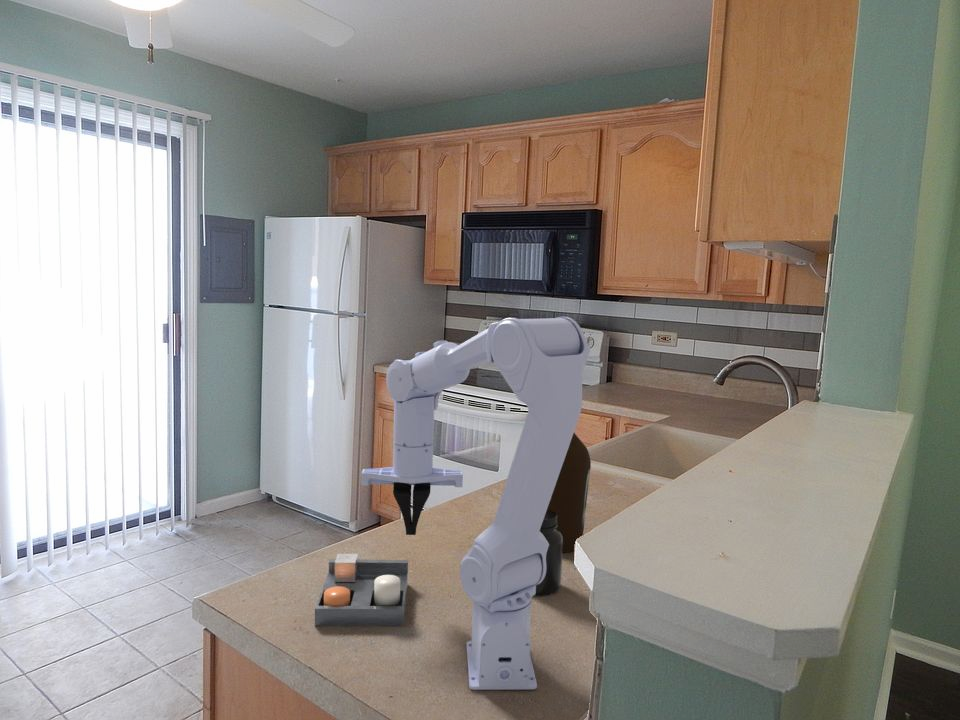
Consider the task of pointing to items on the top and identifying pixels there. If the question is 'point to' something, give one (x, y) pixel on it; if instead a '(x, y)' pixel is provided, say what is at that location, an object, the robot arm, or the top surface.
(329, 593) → the orange button
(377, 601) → the ivory button
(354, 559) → the slider knob
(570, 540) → the olive oil
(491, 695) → the top surface
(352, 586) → the panel
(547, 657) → the top surface
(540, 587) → the supplement bottle
